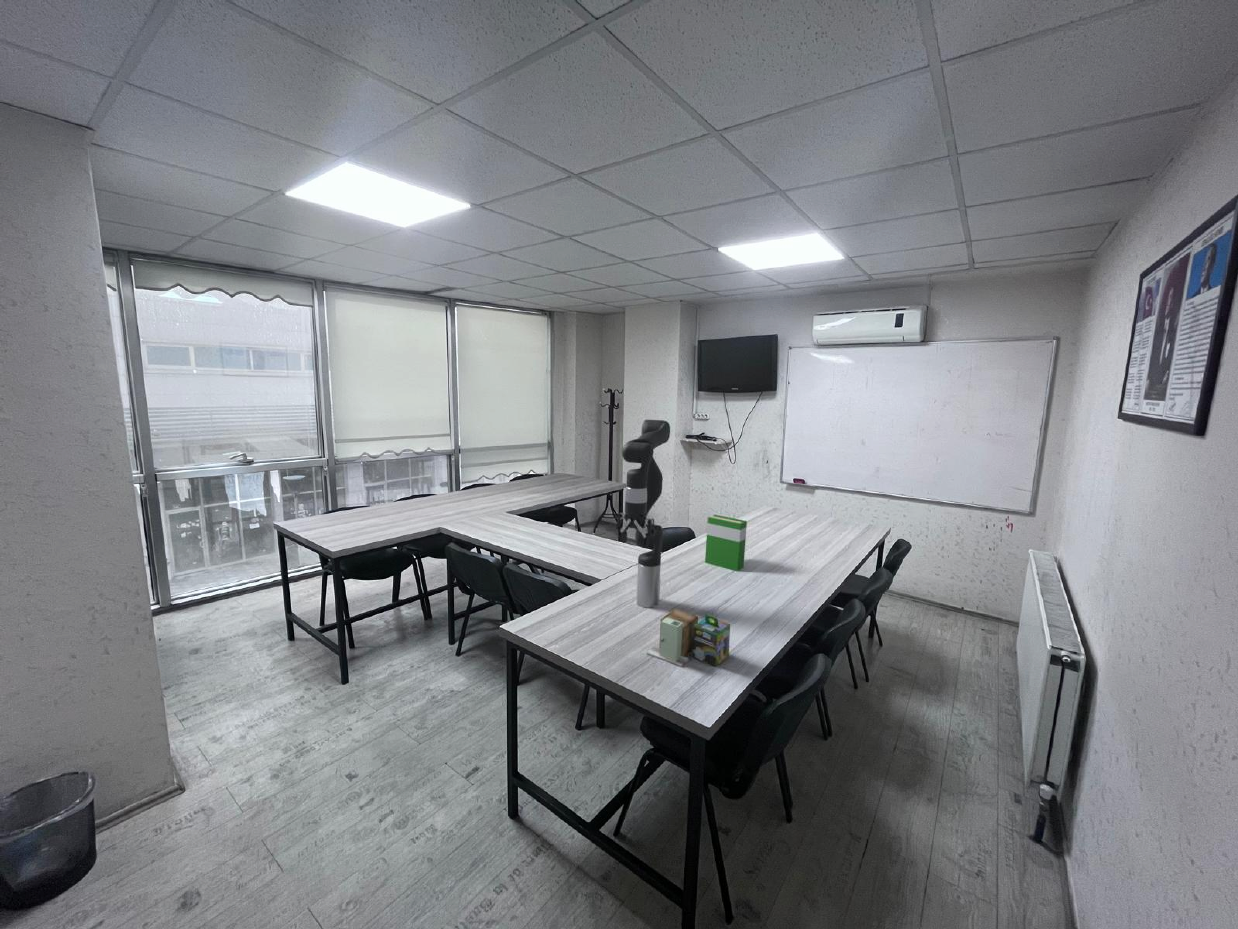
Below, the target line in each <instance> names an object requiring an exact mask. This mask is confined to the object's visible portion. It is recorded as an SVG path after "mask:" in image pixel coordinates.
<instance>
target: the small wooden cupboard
mask: <svg viewBox="0 0 1238 929" xmlns="http://www.w3.org/2000/svg"><path fill="white" fill-rule="evenodd" d="M666 617H667V618H670V619H673V620H676V621H679V622H682V623H683V627H682V645H681V657H680V658H679V659H678V660H677V661H673V660H670V659H668V658H665V657H662V656H660V645H659V647H658V646H655V645H654V646H653V647H651V648H650V649H649V650H648V651H647V652H646V655H648V656H651V657H654V658H656V659H659V660H662V661H664V662H667V663H669V664H672V665H675V666H677V667H680V668H683V666H685V665H686V664H687V663H688V662H689V661H690V660H689V658H687V655H688V654H689V653H691V651H693V630H694V625H696V624H697V623H698V622H699V620H698V619H699V615H696V614H693V613H689V612H687V611H683V610H680V609H677V608H674V609H672V610H671V611H670V612H669V613H667V614H666V615H664V616H663V617H662V618H661V619H660V622H661V621H662V620H664V619H665V618H666ZM659 627H660V628H659V629H660V630H659V631H660V632H659V638H660V637H661V624H660V626H659Z"/></svg>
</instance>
